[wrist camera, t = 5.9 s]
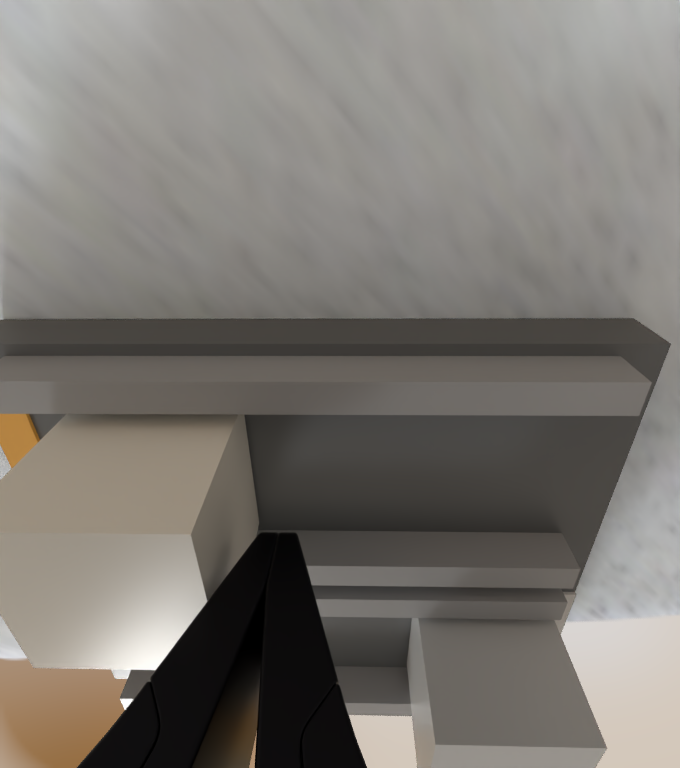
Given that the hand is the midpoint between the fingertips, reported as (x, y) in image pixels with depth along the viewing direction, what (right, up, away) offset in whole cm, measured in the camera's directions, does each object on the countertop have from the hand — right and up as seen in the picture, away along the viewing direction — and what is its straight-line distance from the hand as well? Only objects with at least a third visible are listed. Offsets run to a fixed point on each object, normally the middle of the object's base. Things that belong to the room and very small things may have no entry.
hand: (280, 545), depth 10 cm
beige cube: (-3, +1, +2) cm, 4 cm away
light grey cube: (+6, -5, +5) cm, 9 cm away
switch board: (+1, -1, +5) cm, 5 cm away
